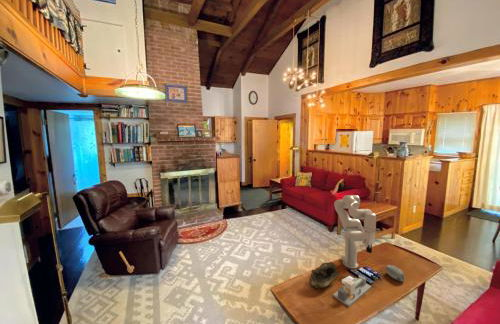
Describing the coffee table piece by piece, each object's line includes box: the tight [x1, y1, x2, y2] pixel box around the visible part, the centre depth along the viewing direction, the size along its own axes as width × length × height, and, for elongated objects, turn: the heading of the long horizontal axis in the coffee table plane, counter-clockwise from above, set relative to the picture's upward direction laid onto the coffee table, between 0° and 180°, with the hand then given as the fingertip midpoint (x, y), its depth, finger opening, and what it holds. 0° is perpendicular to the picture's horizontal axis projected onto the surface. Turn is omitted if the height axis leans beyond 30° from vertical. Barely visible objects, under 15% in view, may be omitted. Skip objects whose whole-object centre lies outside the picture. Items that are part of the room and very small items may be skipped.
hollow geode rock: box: [308, 261, 340, 290], centre depth 161 cm, size 28×13×15 cm
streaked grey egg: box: [385, 264, 406, 282], centre depth 163 cm, size 14×10×10 cm
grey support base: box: [332, 275, 372, 308], centre depth 149 cm, size 12×30×8 cm, turn 124°
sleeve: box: [344, 278, 355, 295], centre depth 146 cm, size 5×5×8 cm
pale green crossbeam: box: [345, 278, 363, 294], centre depth 149 cm, size 2×26×2 cm, turn 124°
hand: (369, 252), depth 152 cm, fingers closed
